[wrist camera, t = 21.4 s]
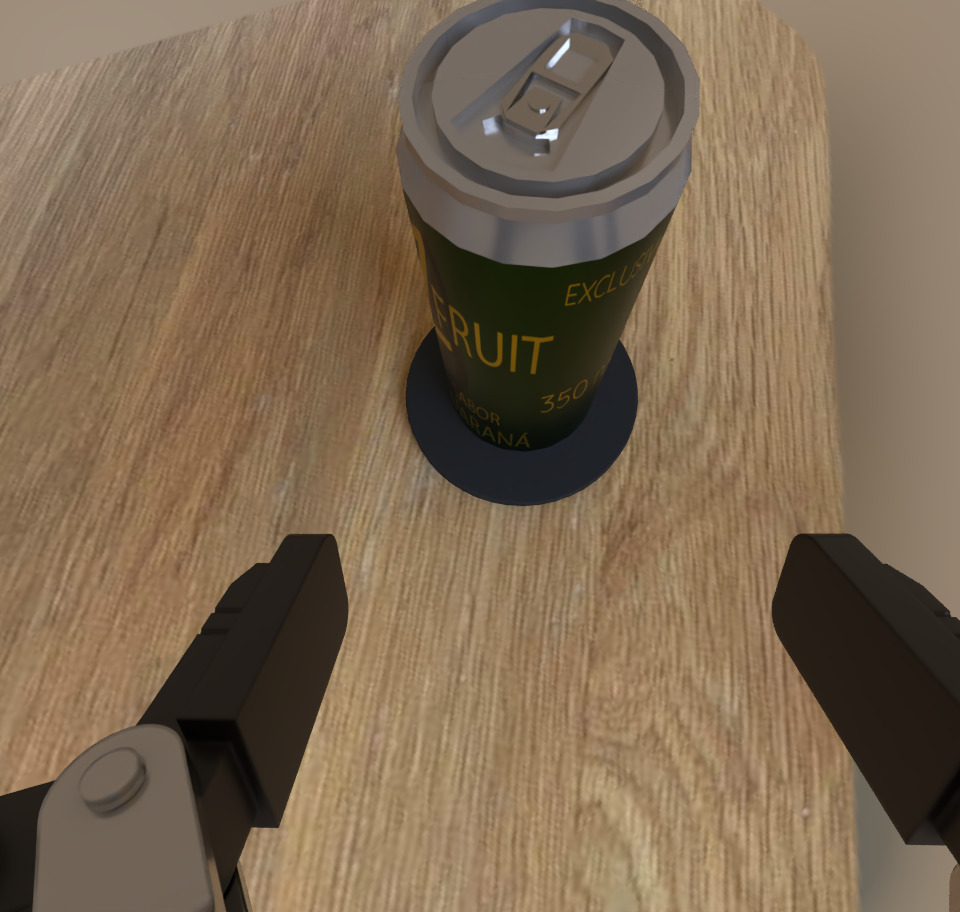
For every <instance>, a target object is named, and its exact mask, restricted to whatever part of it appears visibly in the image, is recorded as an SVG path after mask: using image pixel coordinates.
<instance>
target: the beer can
mask: <svg viewBox="0 0 960 912" xmlns="http://www.w3.org/2000/svg"><path fill="white" fill-rule="evenodd" d="M699 80H700V79H699V77H698V75H697V72H696V70H695V68H694V65H693V63H692V61H691V58H690V56H689V54H688V51H687V49H686V47H685V45H684V44H683V43H682V42H681V41H680V40H679V39H678V38H677V37H676V36H675V35H674V34H673V33H672V32H671V31H670V30H669V29H668V27H667V26H666V25H665V24H664V23H663V22H662V21H661V20H660V19H659V18H657V17H656V16H654V15H652V14H650V13H648V12H647V11H645V10H643V9H641V8H639V7H638V6H636V5H634V4H632V3H631V2H629V1H627V0H478V1H475V2H473V3H471V4H468V5H466V6H464V7H461V8H459V9H457V10H456V11H454V12H453V13H452V14H450V15H449V16H448V17H447V18H445V19H444V20H443V21H441V22H440V23H439V24H438V25H436V26H435V27H434V28H432V29H431V30H430V31H429V32H427V33H426V34H425V36H424V37H423V39H422V40H421V42H420V43H419V45H418V46H417V48H416V49H415V50H414V52H413V53H412V55H411V56H410V58H409V59H408V61H407V62H406V64H405V68H404V72H403V77H402V81H401V85H400V90H399V94H398V102H399V108H400V113H401V118H402V126H401V130H400V135H399V139H398V144H397V148H396V155H397V160H398V166H399V172H400V177H401V183H402V188H403V192H404V197H405V201H406V205H407V209H408V214H409V218H410V222H411V226H412V231H413V235H414V239H415V244H416V248H417V252H418V256H419V261H420V265H421V269H422V273H423V278H424V282H425V286H426V290H427V295H428V299H429V303H430V307H431V312H432V316H433V320H434V324H435V329H436V333H437V337H438V342H439V346H440V350H441V354H442V359H443V363H444V367H445V371H446V376H447V380H448V384H449V388H450V393H451V397H452V401H453V405H454V408H455V410H456V411H457V413H458V415H459V417H460V418H461V420H462V422H463V424H464V425H465V426H466V427H467V428H468V429H469V430H470V431H471V432H473V433H474V434H475V435H476V436H477V437H478V438H479V439H481V440H482V441H484V442H487V443H489V444H491V445H494V446H496V447H498V448H500V449H504V450H513V451H522V452H528V451H533V450H539V449H544V448H549V447H551V446H553V445H554V444H556V443H558V442H560V441H562V440H564V439H566V438H567V437H569V436H570V435H571V434H572V433H573V432H574V431H575V430H576V429H577V428H578V427H579V425H580V424H581V423H582V422H583V421H584V420H585V417H586V415H587V413H588V411H589V408H590V406H591V404H592V402H593V399H594V397H595V395H596V392H597V390H598V388H599V385H600V383H601V381H602V378H603V376H604V374H605V371H606V369H607V367H608V364H609V362H610V360H611V357H612V355H613V353H614V350H615V348H616V346H617V343H618V341H619V339H620V336H621V334H622V332H623V329H624V327H625V325H626V322H627V320H628V318H629V315H630V313H631V311H632V308H633V306H634V304H635V301H636V299H637V297H638V294H639V292H640V290H641V287H642V285H643V283H644V280H645V278H646V276H647V273H648V271H649V269H650V266H651V264H652V262H653V259H654V257H655V255H656V252H657V250H658V248H659V245H660V243H661V241H662V238H663V236H664V234H665V231H666V229H667V227H668V224H669V222H670V220H671V217H672V215H673V213H674V210H675V208H676V206H677V203H678V201H679V199H680V196H681V194H682V192H683V189H684V187H685V185H686V182H687V180H688V178H689V175H690V173H691V162H692V132H693V130H694V127H695V125H696V122H697V120H698V117H699Z"/></svg>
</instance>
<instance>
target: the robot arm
mask: <svg viewBox="0 0 960 912" xmlns="http://www.w3.org/2000/svg"><path fill="white" fill-rule="evenodd" d="M772 619H773V624H774V628H775V631H776V633H777V636H778V637H779V639H780V641H781V643H782V644H783V646H784V647H785V649H786V651H787V652H788V654H789V656H790V657H791V659H792V660H793V662H794V664H795V665H796V667H797V669H798V670H799V672H800V673H801V675H802V677H803V678H804V680H805V681H806V683H807V685H808V686H809V688H810V690H811V691H812V693H813V694H814V696H815V698H816V699H817V701H818V703H819V704H820V706H821V707H822V709H823V711H824V712H825V714H826V716H827V717H828V719H829V720H830V722H831V724H832V725H833V727H834V729H835V730H836V732H837V733H838V735H839V737H840V738H841V740H842V742H843V743H844V745H845V746H846V748H847V750H848V751H849V753H850V755H851V756H852V758H853V759H854V761H855V763H856V764H857V766H858V767H859V769H860V771H861V772H862V774H863V775H864V777H865V779H866V780H867V782H868V784H869V785H870V787H871V788H872V790H873V792H874V793H875V795H876V796H877V798H878V800H879V801H880V803H881V805H882V806H883V808H884V810H885V811H886V813H887V815H888V816H889V818H890V819H891V821H892V823H893V824H894V826H895V828H896V829H897V831H898V832H899V834H900V836H901V837H902V839H903V840H904V842H905V844H906V845H946V846H947V847H948V849H949V850H950V852H951V853H952V854H953V856H954V858H955V859H956V860H957V862H958V864H957V865H956V866H955V867H954V869H953V871H952V873H951V877H950V895H949V897H950V898H949V912H960V620H958V619H957V618H956V617H951V615H950V611H949V610H948V609H947V608H946V607H945V606H944V605H943V604H942V603H940V602H939V601H938V600H937V599H936V598H935V597H934V596H933V595H932V594H931V593H930V592H929V591H928V590H927V589H926V588H924V586H922V585H921V584H919V583H917V582H916V581H914V580H913V579H911V578H909V577H908V576H906V575H904V574H903V573H901V572H899V571H898V570H896V569H894V568H893V567H891V566H889V565H888V564H882V563H881V562H880V561H879V560H878V559H877V558H876V557H875V556H874V555H873V554H872V553H871V552H870V551H869V550H868V549H867V548H866V547H865V546H864V545H863V544H862V543H861V542H860V541H859V540H858V539H857V538H856V537H854V536H852V535H850V534H798V535H797V536H795V537H794V539H793V540H792V542H791V544H790V547H789V550H788V553H787V557H786V560H785V563H784V566H783V569H782V572H781V575H780V579H779V582H778V585H777V588H776V591H775V594H774V597H773V601H772ZM347 621H348V597H347V592H346V587H345V582H344V577H343V572H342V567H341V562H340V557H339V552H338V547H337V542H336V539H335V537H334V536H333V535H332V534H289V535H287V536H286V537H285V539H284V540H283V542H282V543H281V545H280V547H279V548H278V550H277V551H276V553H275V555H274V556H273V558H272V560H271V561H270V563H256V564H255V565H254V566H253V567H251V568H250V569H249V570H248V571H246V572H245V573H244V574H243V575H241V576H240V577H239V578H238V579H236V580H235V581H234V582H233V583H232V584H231V585H230V586H229V588H228V589H227V591H226V592H225V594H224V595H223V597H222V598H221V600H220V601H219V603H218V604H217V606H216V607H215V613H211V615H210V616H209V618H208V619H207V621H206V622H205V624H204V625H203V627H202V628H201V634H197V636H196V637H195V639H194V640H193V642H192V643H191V645H190V646H189V648H188V649H187V651H186V652H185V654H184V655H183V657H182V658H181V660H180V661H179V663H178V664H177V666H176V667H175V669H174V670H173V672H172V673H171V675H170V676H169V678H168V679H167V681H166V682H165V684H164V685H163V687H162V688H161V690H160V691H159V693H158V694H157V695H156V697H155V698H154V700H153V701H152V703H151V704H150V706H149V707H148V709H147V710H146V712H145V713H144V715H143V716H142V718H141V719H140V721H139V722H138V723H137V725H136V726H133V727H129V728H126V729H123V730H120V731H118V732H116V733H113V734H111V735H109V736H107V737H105V738H104V739H102V740H100V741H98V742H97V743H95V744H94V745H92V746H91V747H89V748H88V749H87V750H85V751H84V752H83V753H82V754H80V755H79V756H78V757H77V758H76V759H75V760H73V761H72V762H71V763H70V764H69V765H68V766H67V767H66V768H65V769H64V771H63V772H62V773H61V774H60V775H59V776H58V778H57V779H56V780H54V781H51V782H48V783H44V784H41V785H37V786H34V787H30V788H27V789H23V790H20V791H16V792H13V793H9V794H6V795H2V796H0V912H253V910H252V906H251V902H250V898H249V894H248V890H247V886H246V882H245V878H244V874H243V870H242V866H241V863H240V860H239V858H240V855H241V853H242V850H243V848H244V845H245V842H246V840H247V837H248V835H249V832H250V829H251V827H257V828H279V825H280V822H281V819H282V816H283V814H284V811H285V808H286V805H287V802H288V799H289V796H290V793H291V790H292V787H293V784H294V781H295V778H296V776H297V773H298V770H299V767H300V764H301V761H302V758H303V755H304V752H305V749H306V746H307V743H308V740H309V738H310V735H311V732H312V729H313V726H314V723H315V720H316V717H317V714H318V711H319V708H320V705H321V703H322V700H323V697H324V694H325V691H326V688H327V685H328V682H329V679H330V676H331V673H332V670H333V667H334V665H335V662H336V659H337V656H338V653H339V650H340V647H341V644H342V641H343V638H344V635H345V632H346V628H347Z"/></svg>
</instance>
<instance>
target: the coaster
mask: <svg viewBox="0 0 960 912" xmlns="http://www.w3.org/2000/svg"><path fill="white" fill-rule="evenodd" d="M637 405H638V389H637V382H636V376H635V372H634V369H633V366H632V363H631V360H630V358H629V356H628V354H627V352H626V350H625V347H624V346H623V344H622V343H621V341H620V340H619V341H618V343H617V346H616V348H615V350H614V353H613V355H612V357H611V360H610V362H609V364H608V367H607V369H606V371H605V374H604V376H603V378H602V381H601V383H600V385H599V388H598V390H597V392H596V395H595V397H594V399H593V402H592V404H591V406H590V408H589V411H588V413H587V415H586V417H585V420H584V421H583V422H582V423H581V424H580V425H579V427H578V428H577V429H576V430H575V431H574V432H573V433H572V434H571V435H570V436H569V437H567V438H566V439H564V440H562V441H560V442H558V443H556V444H554V445H553V446H551V447H549V448H544V449H539V450H533V451H528V452H522V451H513V450H504V449H500V448H498V447H496V446H494V445H491V444H489V443H487V442H484V441H482V440H481V439H479V438H478V437H477V436H476V435H475V434H474V433H473V432H471V431H470V430H469V429H468V428H467V427H466V426H465V425H464V424H463V422H462V420H461V418H460V417H459V415H458V413H457V411H456V410H455V408H454V405H453V401H452V397H451V393H450V388H449V384H448V380H447V376H446V371H445V367H444V363H443V359H442V354H441V350H440V346H439V342H438V337H437V333H436V329H435V326H434V327H433V328H432V329H431V331H430V332H429V333H428V335H427V336H426V337H425V339H424V340H423V341H422V343H421V345H420V347H419V348H418V350H417V352H416V354H415V356H414V359H413V361H412V364H411V367H410V370H409V374H408V378H407V387H406V407H407V413H408V419H409V422H410V426H411V429H412V432H413V434H414V436H415V438H416V441H417V443H418V445H419V447H420V449H421V451H422V452H423V453H424V455H425V456H426V458H427V459H428V461H429V462H430V463H431V465H432V466H433V467H434V468H435V469H436V470H437V471H438V472H439V473H440V474H441V475H442V476H443V477H444V478H446V479H447V480H448V481H449V482H450V483H452V484H453V485H455V486H456V487H458V488H460V489H461V490H463V491H465V492H467V493H469V494H471V495H473V496H475V497H477V498H480V499H484V500H487V501H490V502H494V503H499V504H504V505H516V506H529V505H540V504H545V503H550V502H555V501H558V500H560V499H563V498H566V497H569V496H571V495H573V494H575V493H577V492H579V491H581V490H583V489H585V488H586V487H587V486H589V485H590V484H592V483H593V482H595V481H596V480H597V479H598V478H599V477H600V476H602V475H603V474H604V473H605V472H606V471H607V470H608V469H609V468H610V466H611V465H612V464H613V463H614V461H615V460H616V459H617V458H618V456H619V455H620V453H621V452H622V450H623V448H624V447H625V445H626V443H627V441H628V439H629V437H630V434H631V432H632V430H633V426H634V422H635V418H636V413H637Z"/></svg>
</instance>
